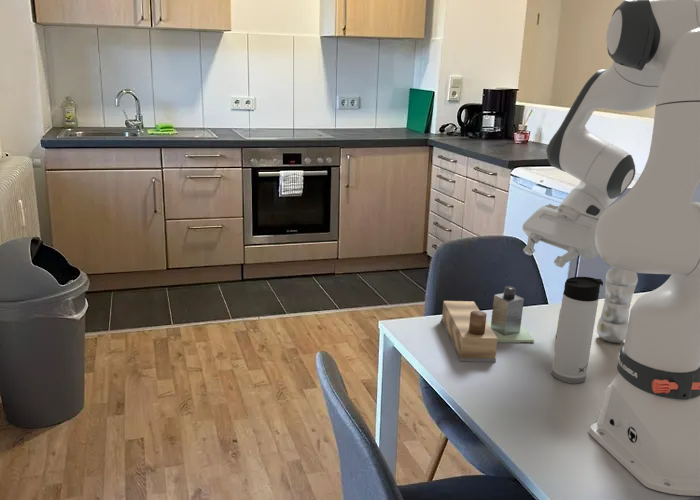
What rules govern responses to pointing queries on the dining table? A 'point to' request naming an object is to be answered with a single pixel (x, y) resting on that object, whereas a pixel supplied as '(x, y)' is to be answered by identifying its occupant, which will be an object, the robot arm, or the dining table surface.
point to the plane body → (469, 331)
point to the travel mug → (576, 328)
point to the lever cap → (507, 312)
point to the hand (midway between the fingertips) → (541, 259)
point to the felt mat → (514, 336)
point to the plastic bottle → (616, 304)
